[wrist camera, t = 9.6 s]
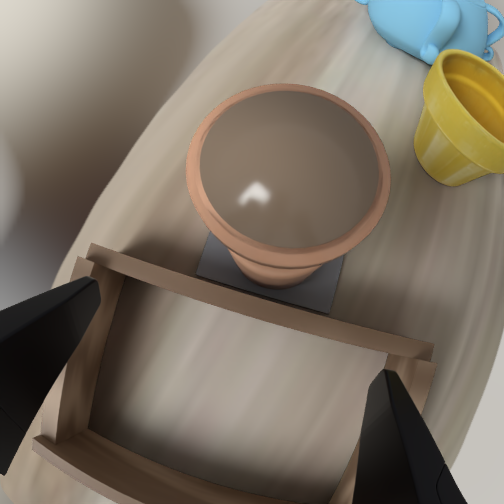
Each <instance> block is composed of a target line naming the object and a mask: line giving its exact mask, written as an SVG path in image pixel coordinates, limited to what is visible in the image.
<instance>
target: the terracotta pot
mask: <svg viewBox="0 0 504 504" xmlns="http://www.w3.org/2000/svg"><path fill="white" fill-rule="evenodd" d="M186 178H187V185H188V189H189V193H190V197H191V199H192V201H193V204H194V206H195V208H196V210H197V211H198V213H199V215H200V216H201V218H202V220H203V221H204V223H205V224H206V226H207V228H208V229H209V230H210V231H211V233H212V234H213V235H214V236H215V237H216V238H217V239H218V240H219V241H220V242H221V243H222V244H223V245H224V246H225V247H227V248H228V250H229V252H230V254H231V256H232V258H233V260H234V261H235V263H236V265H237V267H238V268H239V270H240V271H241V273H242V274H243V275H244V276H245V277H246V278H247V279H248V280H250V281H251V282H253V283H254V284H256V285H258V286H260V287H263V288H267V289H273V290H282V289H288V288H291V287H294V286H297V285H299V284H300V283H302V282H304V281H305V280H306V279H307V278H308V277H310V276H311V275H312V274H313V273H314V272H315V271H316V270H317V269H318V268H320V267H321V266H322V265H323V264H326V263H329V262H331V261H333V260H335V259H337V258H339V257H341V256H343V255H344V254H345V253H347V252H348V251H350V250H351V249H353V248H354V247H355V246H356V245H358V244H359V243H360V242H361V241H362V240H363V239H364V238H365V237H366V236H367V235H369V234H370V232H371V231H372V230H373V229H374V227H375V226H376V225H377V223H378V222H379V220H380V218H381V216H382V214H383V213H384V210H385V207H386V205H387V202H388V198H389V193H390V183H391V175H390V165H389V161H388V157H387V153H386V151H385V148H384V146H383V143H382V141H381V139H380V138H379V136H378V134H377V132H376V131H375V130H374V128H373V127H372V125H371V124H370V123H369V122H368V121H367V120H366V118H365V117H364V116H363V115H362V114H361V113H359V112H358V111H357V110H356V109H355V108H354V107H352V106H351V105H349V104H348V103H347V102H345V101H344V100H342V99H340V98H338V97H336V96H335V95H332V94H330V93H328V92H325V91H323V90H320V89H316V88H313V87H309V86H304V85H297V84H270V85H263V86H259V87H254V88H251V89H248V90H245V91H242V92H240V93H238V94H236V95H234V96H232V97H230V98H228V99H227V100H225V101H224V102H222V103H221V104H220V105H218V106H217V107H216V108H215V109H213V110H212V111H211V112H210V113H209V114H208V116H207V117H206V118H205V119H204V120H203V122H202V123H201V124H200V126H199V127H198V129H197V131H196V133H195V134H194V136H193V138H192V141H191V144H190V147H189V150H188V155H187V161H186Z"/></svg>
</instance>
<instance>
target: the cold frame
mask: <svg viewBox="0 0 504 504" xmlns="http://www.w3.org/2000/svg"><path fill="white" fill-rule="evenodd" d="M126 275H128V276H131V277H133V278H136V279H139V280H142V281H144V282H147V283H150V284H153V285H155V286H158V287H161V288H164V289H167V290H170V291H172V292H175V293H178V294H181V295H184V296H187V297H190V298H193V299H196V300H199V301H202V302H205V303H208V304H211V305H214V306H217V307H221V308H224V309H227V310H230V311H233V312H237V313H240V314H243V315H246V316H250V317H253V318H256V319H260V320H263V321H266V322H270V323H273V324H277V325H280V326H284V327H287V328H291V329H294V330H298V331H302V332H305V333H309V334H313V335H317V336H320V337H324V338H328V339H332V340H336V341H340V342H344V343H348V344H352V345H356V346H360V347H364V348H368V349H373V350H377V351H381V352H386V353H389V354H388V357H387V361H386V364H385V367H384V369H389V370H394V371H396V372H397V373H398V375H399V377H400V379H401V380H402V382H403V384H404V386H405V387H406V389H407V391H408V393H409V394H410V396H411V398H412V400H413V402H414V403H415V405H416V407H417V409H418V411H419V413H420V414H421V413H422V411H423V408H424V405H425V402H426V399H427V396H428V393H429V390H430V387H431V384H432V380H433V377H434V374H435V370H436V367H437V363H433V362H430V360H431V356H432V352H433V348H434V344H432V343H428V342H424V341H419V340H415V339H411V338H407V337H402V336H398V335H394V334H390V333H386V332H382V331H378V330H374V329H370V328H366V327H362V326H358V325H354V324H351V323H347V322H343V321H339V320H335V319H332V318H328V317H324V316H321V315H317V314H313V313H310V312H306V311H303V310H299V309H296V308H292V307H288V306H285V305H282V304H278V303H275V302H271V301H268V300H264V299H261V298H258V297H254V296H251V295H248V294H244V293H241V292H238V291H234V290H231V289H228V288H225V287H221V286H218V285H215V284H212V283H209V282H205V281H202V280H199V279H196V278H193V277H190V276H187V275H184V274H181V273H178V272H174V271H171V270H168V269H165V268H162V267H159V266H156V265H153V264H151V263H148V262H145V261H142V260H139V259H136V258H133V257H130V256H127V255H124V254H121V253H119V252H116V251H113V250H110V249H107V248H105V247H102V246H99V245H96V244H93V243H91V244H90V247H89V250H88V253H87V256H86V259H84V258H82V257H79V256H78V257H77V260H76V263H75V266H74V269H73V272H72V275H71V279H70V282H72V281H74V280H77V279H79V278H82V277H84V276H90V277H92V278H94V279H96V280H97V281H98V283H99V288H100V294H101V304H100V306H99V308H98V310H97V312H96V314H95V315H94V317H93V319H92V321H91V323H90V325H89V327H88V328H87V330H86V332H85V334H84V336H83V338H82V340H81V342H80V343H79V345H78V346H77V348H76V349H75V351H74V353H73V354H72V356H71V357H70V359H69V360H68V362H67V364H66V365H65V367H64V368H63V370H62V372H61V373H60V375H59V376H58V378H57V380H56V381H55V383H54V385H53V386H52V388H51V390H50V391H49V393H48V395H47V396H46V398H45V400H44V404H43V413H42V423H41V435H39V436H36V437H34V438H33V443H32V450H33V451H34V452H36V453H37V454H38V455H40V456H41V457H43V458H44V459H45V460H47V461H48V462H49V463H51V464H52V465H54V466H55V467H57V468H58V469H60V470H61V471H63V472H64V473H66V474H67V475H69V476H70V477H72V478H73V479H75V480H77V481H78V482H80V483H82V484H83V485H85V486H87V487H88V488H90V489H92V490H94V491H95V492H97V493H99V494H101V495H103V496H105V497H106V498H108V499H110V500H112V501H114V502H116V503H118V504H305V503H298V502H292V501H286V500H280V499H275V498H270V497H265V496H260V495H256V494H251V493H247V492H243V491H239V490H235V489H232V488H228V487H225V486H221V485H218V484H214V483H211V482H208V481H205V480H202V479H199V478H196V477H193V476H190V475H187V474H184V473H182V472H179V471H176V470H174V469H171V468H169V467H166V466H164V465H161V464H159V463H156V462H154V461H152V460H149V459H147V458H145V457H142V456H140V455H138V454H136V453H134V452H132V451H130V450H127V449H125V448H123V447H121V446H119V445H117V444H115V443H113V442H111V441H110V440H108V439H106V438H104V437H102V436H100V435H98V434H97V433H95V432H93V431H91V430H90V429H88V424H89V418H90V412H91V407H92V402H93V397H94V392H95V387H96V383H97V378H98V374H99V369H100V365H101V361H102V357H103V353H104V349H105V345H106V341H107V337H108V333H109V330H110V326H111V323H112V319H113V315H114V312H115V309H116V305H117V302H118V299H119V295H120V292H121V289H122V286H123V283H124V280H125V277H126ZM359 443H360V438H359V440H358V443H357V445H356V447H355V450H354V452H353V454H352V457H351V459H350V461H349V463H348V465H347V468H346V470H345V472H344V474H343V476H342V478H341V480H340V482H339V484H338V486H337V488H336V490H335V492H334V494H333V496H332V498H331V500H330V502H329V504H352V499H353V492H354V485H355V478H356V471H357V462H358V453H359Z"/></svg>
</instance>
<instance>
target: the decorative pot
mask: <svg viewBox="0 0 504 504" xmlns="http://www.w3.org/2000/svg"><path fill="white" fill-rule="evenodd" d="M355 1H357V2H358V3H360V4H363V5H368V12H369V16H370V19H371V22H372V24H373V26H374V28H375V30H376V31H377V32H378V34H379V35H380V36H382V37H383V38H384V39H385V40H386V42H387V43H388V44H389V45H391V46H392V47H394V48H397V49H401V50H403V51H405V52H407V53H409V54H411V55H412V56H414V57H416V58H418V59H420V60H423V61H424V62H426V63H427V64H430V65H433V63H434V61H435V59H436V58H437V56H438V55H439V54H440V53H441V52H442V51H444V50H447V49H459V50H463V51H467V52H469V53H472V54H474V55H476V56H478V57H480V58H482V59H483V60H485V61H490V60H491V59H492V58H493V55H494V52H493V49H492V48H491V47H490V45H492V44H493V43H495V42H496V41H498V40H500V39H501V38H502V37H503V36H504V18H503V16H502V14H501V13H500V12H499V11H498V10H497V9H496V8H495V7H493V6H491V5H489V4H486V3H485V2H484V0H355ZM487 11H488V12H490V13H491V14H493V15H494V16H496V17H497V18H498V20H499V22H500V24H499V26H498V28H497V29H496V30H495V31H493V32H492V33H491V34H489V35H487V33H488V17H487ZM485 49H486V50H488V51H489V52H488V53H484V50H485Z"/></svg>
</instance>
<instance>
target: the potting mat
mask: <svg viewBox="0 0 504 504" xmlns="http://www.w3.org/2000/svg"><path fill="white" fill-rule="evenodd" d="M343 258H344V255H343V256H341V257H339V258H337V259H335V260H333V261H331V262H329V263H326V264H323V265H322V266H321V267H320V268H318V269H317V270H316V271H315V272H314V273H313V274H312V275H311V276H310V277H308V278H307V279H306V280H305V281H304V282H302V283H300V284H299V285H297V286H294V287H291V288H288V289H282V290H273V289H267V288H263V287H260V286H258V285H256V284H254V283H253V282H251V281H250V280H248V279H247V278H246V277H245V276H244V275H243V274H242V273H241V271H240V270H239V268H238V267H237V265H236V263H235V261H234V260H233V258H232V256H231V254H230V252H229V250H228V248H227V247H225V246H224V245H223V244H222V243H221V242H220V241H219V240H218V239H217V238H216V237H215V236H214V235H213V234H212V233H211V231H210V233H209V236H208V239H207V242H206V244H205V247H204V250H203V253H202V256H201V259H200V262H199V265H198V268H197V271H196V275H198V276H201V277H204V278H207V279H211V280H214V281H217V282H220V283H223V284H227V285H230V286H233V287H237V288H240V289H243V290H246V291H250V292H253V293H256V294H260V295H263V296H267V297H270V298H273V299H277V300H280V301H284V302H287V303H291V304H294V305H298V306H301V307H305V308H309V309H312V310H316V311H319V312H323V313H327V314H329V313H330V309H331V305H332V302H333V298H334V294H335V290H336V286H337V282H338V278H339V274H340V270H341V266H342V262H343Z"/></svg>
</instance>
